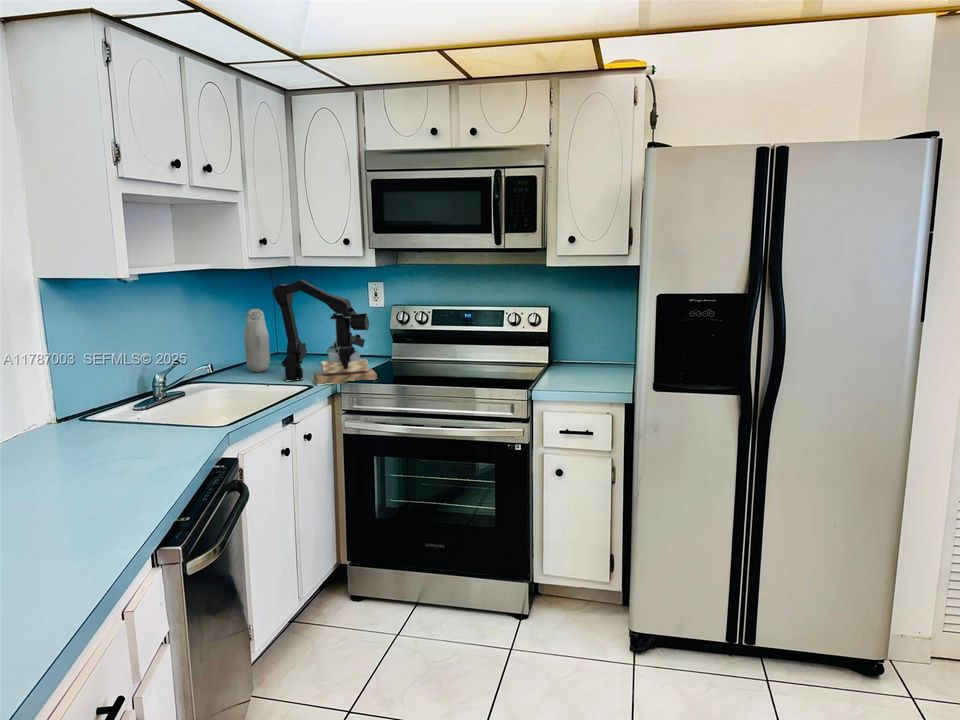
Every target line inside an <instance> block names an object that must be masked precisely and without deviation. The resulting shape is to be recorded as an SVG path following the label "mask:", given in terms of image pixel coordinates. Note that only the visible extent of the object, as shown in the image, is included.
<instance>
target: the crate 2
mask: <svg viewBox="0 0 960 720" xmlns="http://www.w3.org/2000/svg"><path fill="white" fill-rule="evenodd" d="M360 359H361V354H360V351H359V350H355V353H353V354H352V355H351V356H350V358H349V361H350V362H351V361H360Z"/></svg>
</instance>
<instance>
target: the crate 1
mask: <svg viewBox="0 0 960 720" xmlns="http://www.w3.org/2000/svg"><path fill="white" fill-rule="evenodd" d="M328 355H329V359H328V361H329V362H330V363H336V362H340V357H339V355H338V352H333V353H328V354H327V356H328Z"/></svg>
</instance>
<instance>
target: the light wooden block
mask: <svg viewBox="0 0 960 720" xmlns="http://www.w3.org/2000/svg"><path fill="white" fill-rule="evenodd" d="M368 361H369V360H368V359H366V358H360V361H351V362H350V361H349V362H348V367H347V369H344V367H343V365H342V362H341V360H340V362H336V363H330V362H329V360H323V361H321V373H338V372H352V371H366V370H368V369H369V362H368Z"/></svg>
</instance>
